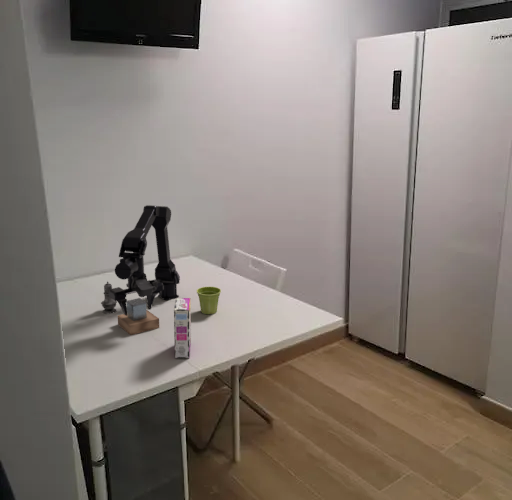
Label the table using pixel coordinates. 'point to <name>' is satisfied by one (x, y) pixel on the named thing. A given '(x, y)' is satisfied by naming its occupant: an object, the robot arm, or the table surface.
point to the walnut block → (138, 323)
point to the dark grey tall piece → (108, 300)
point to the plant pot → (208, 299)
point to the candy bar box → (182, 327)
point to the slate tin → (136, 309)
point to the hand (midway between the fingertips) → (137, 312)
